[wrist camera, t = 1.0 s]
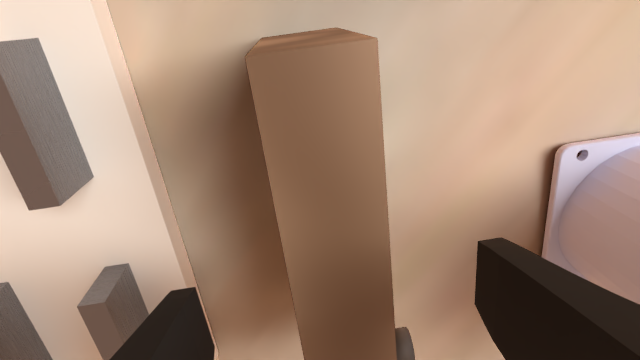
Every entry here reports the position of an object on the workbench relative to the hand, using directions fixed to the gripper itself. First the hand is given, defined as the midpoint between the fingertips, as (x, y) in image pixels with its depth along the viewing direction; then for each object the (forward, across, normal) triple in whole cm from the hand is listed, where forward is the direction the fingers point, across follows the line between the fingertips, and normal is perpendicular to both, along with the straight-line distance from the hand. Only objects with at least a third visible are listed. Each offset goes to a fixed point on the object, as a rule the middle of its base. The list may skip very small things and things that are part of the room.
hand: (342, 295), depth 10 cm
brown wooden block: (+8, 0, 0) cm, 8 cm away
